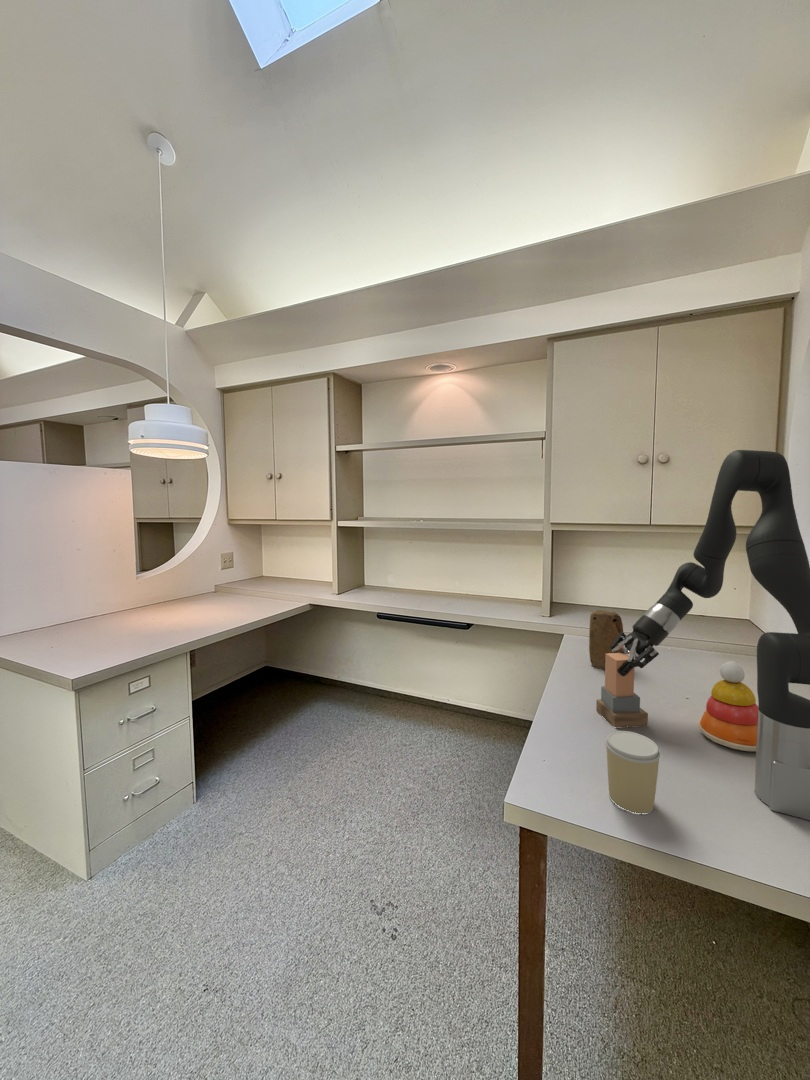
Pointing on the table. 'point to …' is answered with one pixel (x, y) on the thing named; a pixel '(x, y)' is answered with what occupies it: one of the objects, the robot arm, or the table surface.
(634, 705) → the tower top
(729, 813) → the table surface
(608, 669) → the pillar
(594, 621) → the block
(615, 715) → the tower base
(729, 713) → the stacking toy
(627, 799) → the coffee cup
